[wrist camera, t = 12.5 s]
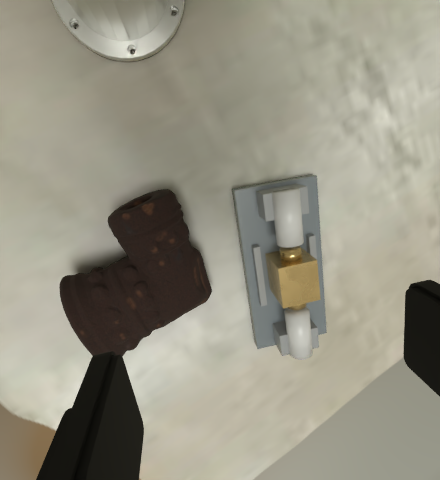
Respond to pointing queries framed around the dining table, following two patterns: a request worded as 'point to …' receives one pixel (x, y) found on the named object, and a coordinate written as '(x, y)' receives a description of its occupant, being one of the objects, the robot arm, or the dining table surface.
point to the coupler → (293, 277)
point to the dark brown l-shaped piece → (138, 278)
